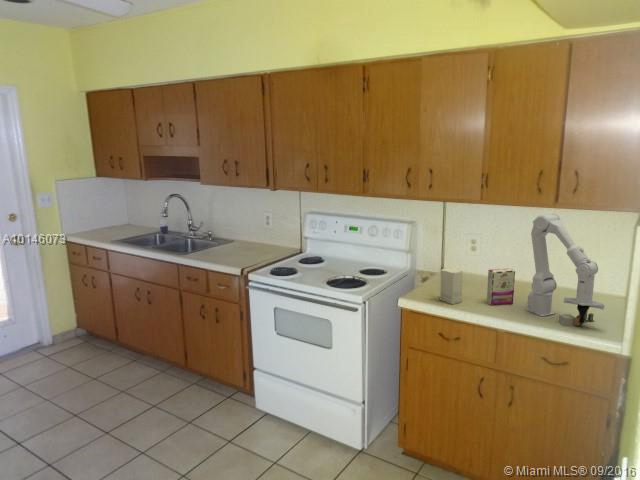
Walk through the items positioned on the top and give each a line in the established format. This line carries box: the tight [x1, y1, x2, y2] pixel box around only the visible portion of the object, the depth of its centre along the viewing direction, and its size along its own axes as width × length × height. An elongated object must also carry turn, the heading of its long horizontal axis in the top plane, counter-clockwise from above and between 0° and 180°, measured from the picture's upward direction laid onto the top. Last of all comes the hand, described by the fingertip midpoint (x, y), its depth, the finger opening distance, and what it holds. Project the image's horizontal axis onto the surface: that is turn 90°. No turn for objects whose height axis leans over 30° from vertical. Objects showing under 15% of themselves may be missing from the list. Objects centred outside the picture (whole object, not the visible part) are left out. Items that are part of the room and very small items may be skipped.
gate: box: [574, 311, 589, 327], centre depth 195 cm, size 12×3×4 cm, turn 136°
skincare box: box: [439, 267, 463, 305], centre depth 220 cm, size 8×7×16 cm
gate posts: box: [584, 312, 595, 323], centre depth 197 cm, size 4×6×3 cm
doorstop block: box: [557, 313, 576, 327], centre depth 194 cm, size 4×4×4 cm
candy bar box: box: [486, 267, 516, 306], centre depth 217 cm, size 11×5×16 cm, turn 99°
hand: (581, 322), depth 191 cm, fingers closed, pressing on gate
